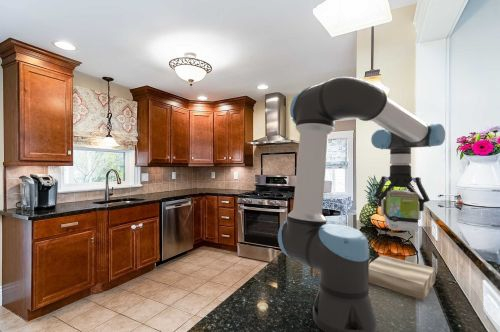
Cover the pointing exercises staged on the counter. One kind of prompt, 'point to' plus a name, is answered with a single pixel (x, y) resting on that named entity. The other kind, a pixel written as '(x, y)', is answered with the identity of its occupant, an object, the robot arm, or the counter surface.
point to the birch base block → (402, 276)
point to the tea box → (401, 210)
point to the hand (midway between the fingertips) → (400, 216)
